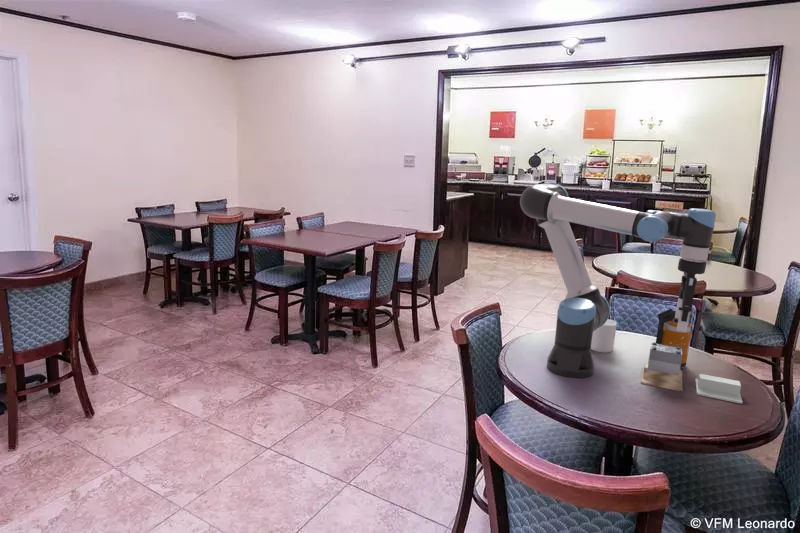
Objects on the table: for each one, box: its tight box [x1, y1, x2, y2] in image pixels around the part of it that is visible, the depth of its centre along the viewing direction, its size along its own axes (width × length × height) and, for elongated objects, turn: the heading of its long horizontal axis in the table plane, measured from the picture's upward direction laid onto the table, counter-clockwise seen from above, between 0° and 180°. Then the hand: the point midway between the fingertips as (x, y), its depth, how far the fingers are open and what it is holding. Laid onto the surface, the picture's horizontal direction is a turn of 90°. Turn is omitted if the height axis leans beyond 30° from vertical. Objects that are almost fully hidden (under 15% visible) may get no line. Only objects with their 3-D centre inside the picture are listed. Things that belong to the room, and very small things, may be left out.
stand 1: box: [640, 362, 684, 392], centre depth 175 cm, size 12×12×4 cm
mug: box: [591, 318, 618, 354], centre depth 201 cm, size 9×12×11 cm
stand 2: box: [694, 373, 743, 405], centre depth 168 cm, size 12×12×4 cm
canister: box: [655, 308, 693, 369], centre depth 186 cm, size 9×11×20 cm
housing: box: [647, 341, 682, 375], centre depth 174 cm, size 9×6×7 cm
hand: (680, 324), depth 171 cm, fingers open, 13 cm apart
